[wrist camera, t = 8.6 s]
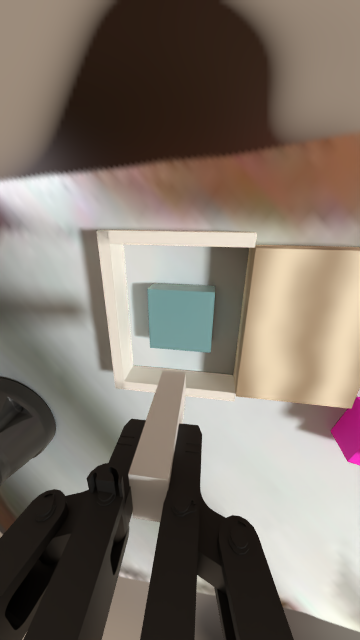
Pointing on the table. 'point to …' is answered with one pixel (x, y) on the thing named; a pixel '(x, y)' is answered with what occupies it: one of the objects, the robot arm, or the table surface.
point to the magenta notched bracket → (349, 433)
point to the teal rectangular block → (181, 316)
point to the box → (119, 308)
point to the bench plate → (300, 325)
